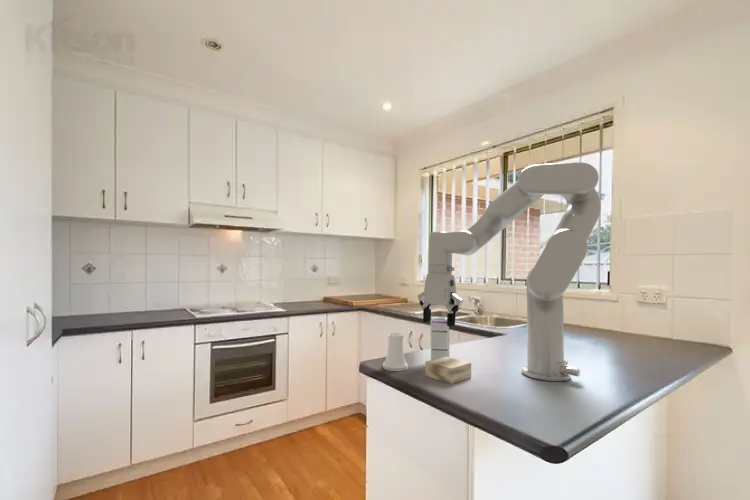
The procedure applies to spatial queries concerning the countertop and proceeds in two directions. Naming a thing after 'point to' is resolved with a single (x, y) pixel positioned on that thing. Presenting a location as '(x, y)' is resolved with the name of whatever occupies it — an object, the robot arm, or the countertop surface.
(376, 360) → the countertop surface
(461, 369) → the beech block
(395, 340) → the white flared cylinder
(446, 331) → the syrup box
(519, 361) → the countertop surface
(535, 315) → the robot arm
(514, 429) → the countertop surface
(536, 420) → the countertop surface
